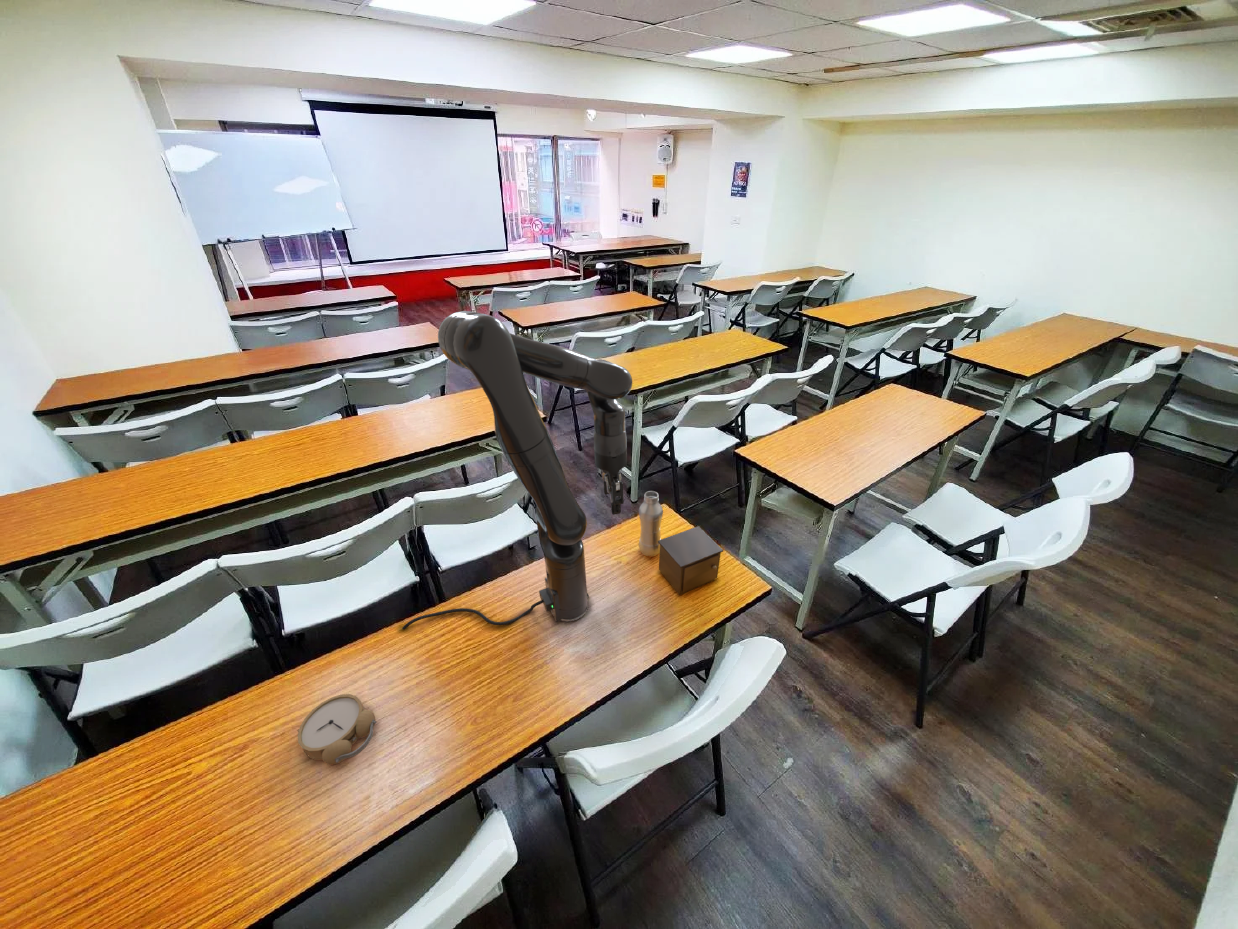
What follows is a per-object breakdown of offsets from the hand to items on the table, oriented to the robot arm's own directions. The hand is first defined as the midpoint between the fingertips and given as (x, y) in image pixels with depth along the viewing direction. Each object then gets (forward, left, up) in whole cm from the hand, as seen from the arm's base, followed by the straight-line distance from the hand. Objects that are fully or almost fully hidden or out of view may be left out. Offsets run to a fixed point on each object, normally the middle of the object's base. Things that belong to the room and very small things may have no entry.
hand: (612, 503), depth 116 cm
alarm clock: (-67, -16, -23) cm, 72 cm away
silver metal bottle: (+12, +1, -23) cm, 26 cm away
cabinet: (+16, -12, -22) cm, 30 cm away
